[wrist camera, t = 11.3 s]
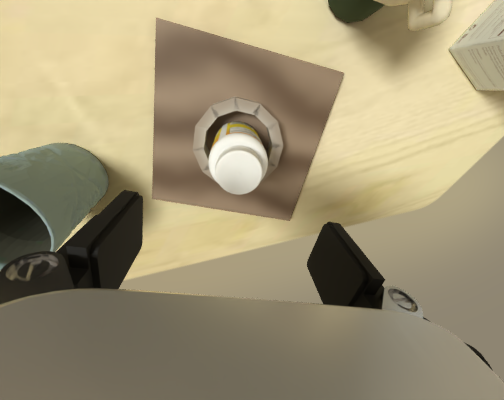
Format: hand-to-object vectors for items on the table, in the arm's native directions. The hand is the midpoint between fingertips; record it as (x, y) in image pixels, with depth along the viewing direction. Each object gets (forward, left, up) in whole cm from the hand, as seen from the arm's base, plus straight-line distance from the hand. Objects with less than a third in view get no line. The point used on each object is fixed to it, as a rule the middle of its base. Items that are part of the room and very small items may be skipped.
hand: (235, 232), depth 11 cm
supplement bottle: (0, 0, -18) cm, 18 cm away
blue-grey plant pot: (-9, +20, -20) cm, 29 cm away
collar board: (0, 0, -19) cm, 19 cm away
